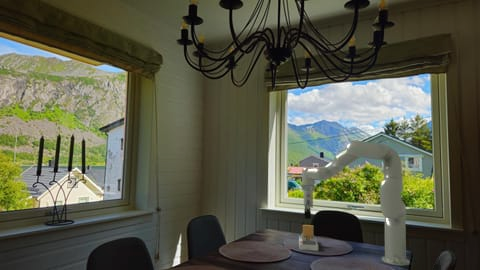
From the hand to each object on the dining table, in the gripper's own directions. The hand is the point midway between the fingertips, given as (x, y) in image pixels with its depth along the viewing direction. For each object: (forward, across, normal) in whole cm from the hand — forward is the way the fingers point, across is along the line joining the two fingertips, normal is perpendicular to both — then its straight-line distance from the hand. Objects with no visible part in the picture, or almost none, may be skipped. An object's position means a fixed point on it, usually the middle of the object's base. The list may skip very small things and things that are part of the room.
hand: (307, 217), depth 185 cm
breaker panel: (+16, 0, -1) cm, 16 cm away
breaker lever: (+13, 0, -1) cm, 13 cm away
